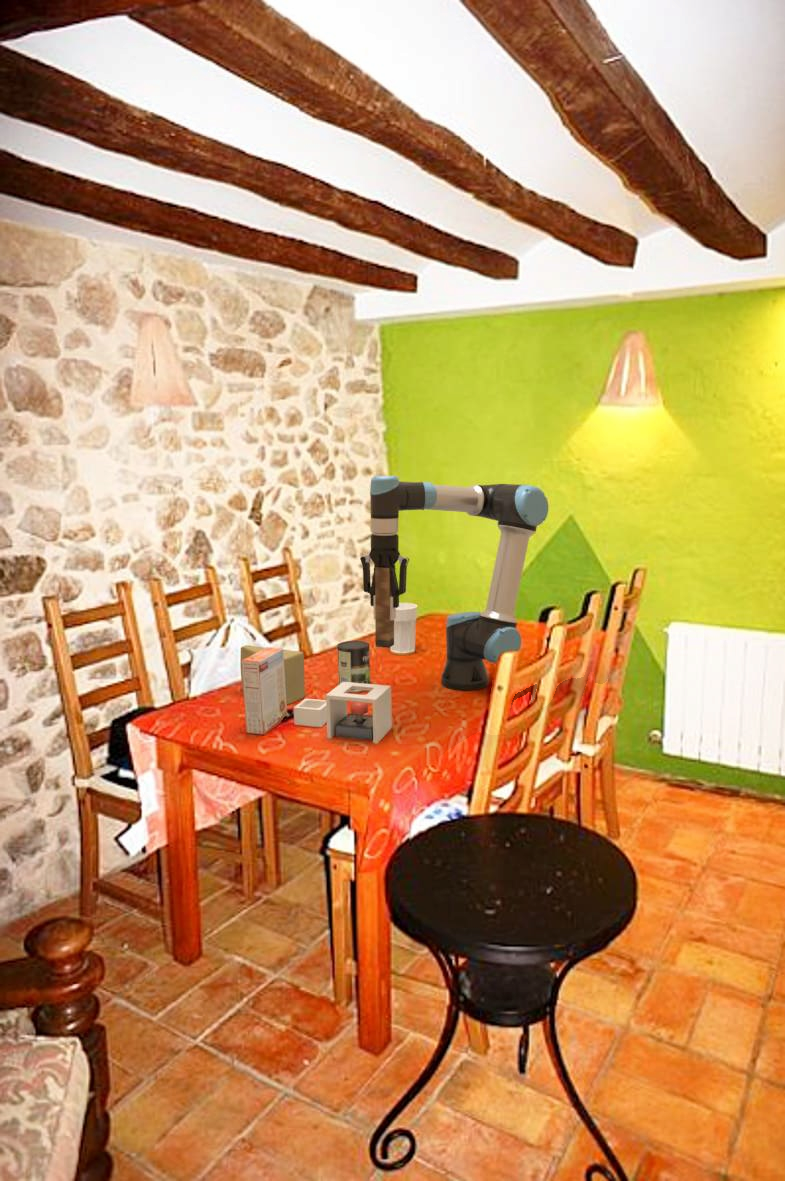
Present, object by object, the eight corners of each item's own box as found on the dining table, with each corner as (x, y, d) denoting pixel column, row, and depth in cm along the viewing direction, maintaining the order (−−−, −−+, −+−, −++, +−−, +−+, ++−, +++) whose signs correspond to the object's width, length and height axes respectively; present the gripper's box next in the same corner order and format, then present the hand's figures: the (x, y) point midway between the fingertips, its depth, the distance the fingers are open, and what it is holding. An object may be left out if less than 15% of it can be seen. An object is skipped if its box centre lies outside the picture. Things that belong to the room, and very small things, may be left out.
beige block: (232, 694, 252) (229, 648, 249) (253, 686, 260) (251, 641, 257) (286, 706, 240) (284, 657, 237) (306, 697, 248) (305, 650, 245)
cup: (423, 650, 298) (423, 604, 295) (407, 657, 289) (407, 610, 286) (397, 646, 304) (397, 601, 301) (381, 653, 295) (380, 607, 292)
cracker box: (269, 716, 231) (265, 646, 227) (288, 718, 229) (284, 647, 225) (244, 733, 218) (240, 659, 214) (264, 736, 216) (260, 661, 212)
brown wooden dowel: (394, 644, 223) (394, 566, 219) (389, 647, 219) (389, 568, 215) (380, 643, 224) (380, 565, 220) (375, 646, 221) (375, 567, 217)
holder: (332, 717, 229) (331, 700, 228) (320, 727, 222) (320, 710, 221) (306, 715, 232) (305, 698, 231) (294, 724, 224) (293, 707, 223)
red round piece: (370, 721, 218) (370, 700, 217) (364, 727, 214) (364, 706, 213) (354, 720, 219) (354, 699, 218) (348, 725, 215) (348, 704, 214)
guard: (391, 727, 220) (390, 685, 218) (377, 743, 209) (375, 699, 207) (344, 722, 225) (343, 681, 222) (327, 738, 214) (325, 695, 211)
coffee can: (373, 683, 260) (372, 640, 258) (366, 693, 250) (365, 649, 248) (343, 681, 262) (341, 639, 260) (334, 691, 253) (333, 648, 250)
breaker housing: (383, 728, 220) (382, 716, 219) (371, 740, 211) (371, 728, 211) (349, 725, 223) (348, 713, 222) (336, 737, 214) (336, 724, 214)
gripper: (419, 533, 217) (418, 618, 221) (360, 531, 222) (360, 613, 227) (410, 536, 210) (410, 623, 214) (349, 533, 215) (350, 619, 220)
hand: (384, 618), depth 220 cm, fingers closed on brown wooden dowel, 4 cm apart
